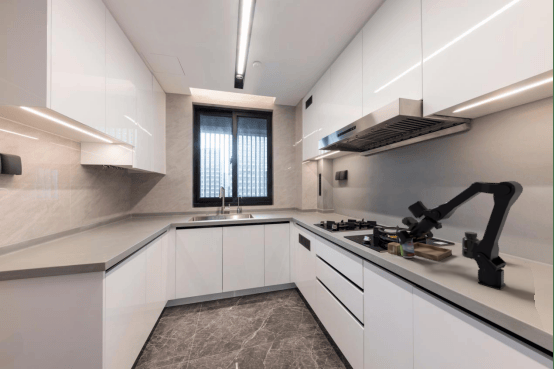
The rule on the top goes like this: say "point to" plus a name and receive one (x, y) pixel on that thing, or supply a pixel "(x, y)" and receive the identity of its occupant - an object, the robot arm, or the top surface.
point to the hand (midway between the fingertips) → (404, 243)
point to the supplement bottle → (468, 243)
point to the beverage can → (407, 250)
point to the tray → (431, 251)
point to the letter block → (394, 248)
